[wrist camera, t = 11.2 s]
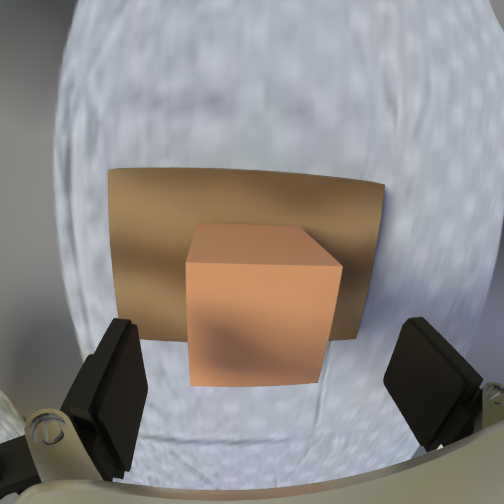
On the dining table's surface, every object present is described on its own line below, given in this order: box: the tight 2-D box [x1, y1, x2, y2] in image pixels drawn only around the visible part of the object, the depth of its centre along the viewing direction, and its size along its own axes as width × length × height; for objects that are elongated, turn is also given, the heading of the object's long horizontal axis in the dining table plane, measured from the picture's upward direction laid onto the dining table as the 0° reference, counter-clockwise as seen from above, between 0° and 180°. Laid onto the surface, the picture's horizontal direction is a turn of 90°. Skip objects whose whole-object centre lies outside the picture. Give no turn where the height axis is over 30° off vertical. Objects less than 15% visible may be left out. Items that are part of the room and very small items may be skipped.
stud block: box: [108, 168, 385, 342], centre depth 17 cm, size 12×18×9 cm, turn 87°
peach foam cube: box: [186, 223, 343, 387], centre depth 15 cm, size 6×6×7 cm
